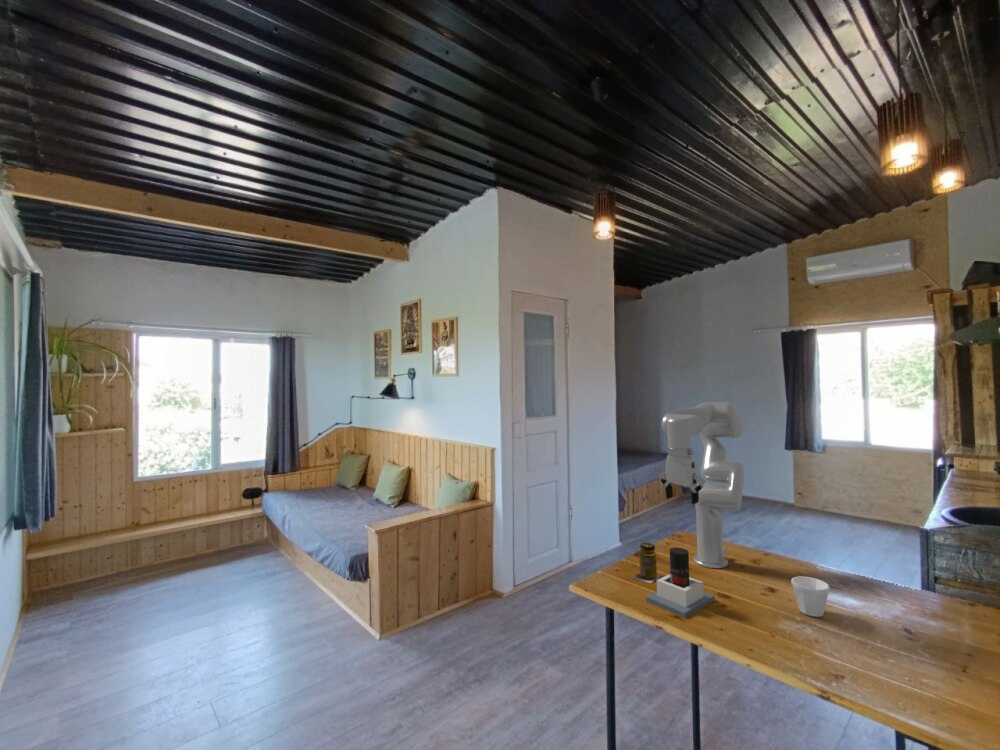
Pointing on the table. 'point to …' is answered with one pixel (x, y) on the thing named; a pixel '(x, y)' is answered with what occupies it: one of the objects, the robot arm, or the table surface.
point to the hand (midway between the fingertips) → (682, 500)
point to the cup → (810, 595)
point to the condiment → (647, 563)
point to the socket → (680, 597)
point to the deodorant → (679, 567)
